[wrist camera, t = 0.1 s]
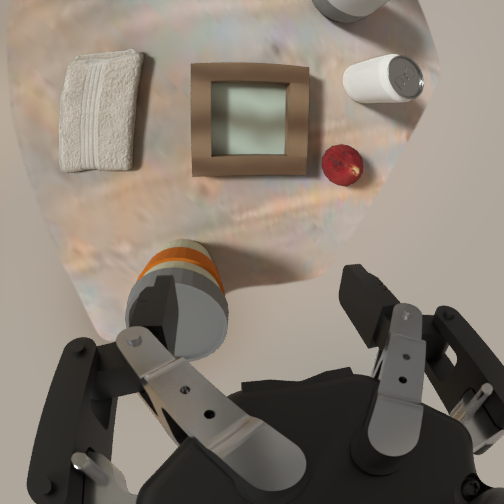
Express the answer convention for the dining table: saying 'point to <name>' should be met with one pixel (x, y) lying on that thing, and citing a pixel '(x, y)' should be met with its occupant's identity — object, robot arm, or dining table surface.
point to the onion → (342, 165)
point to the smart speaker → (348, 9)
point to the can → (384, 80)
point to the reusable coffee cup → (189, 297)
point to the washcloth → (99, 111)
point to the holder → (249, 119)
